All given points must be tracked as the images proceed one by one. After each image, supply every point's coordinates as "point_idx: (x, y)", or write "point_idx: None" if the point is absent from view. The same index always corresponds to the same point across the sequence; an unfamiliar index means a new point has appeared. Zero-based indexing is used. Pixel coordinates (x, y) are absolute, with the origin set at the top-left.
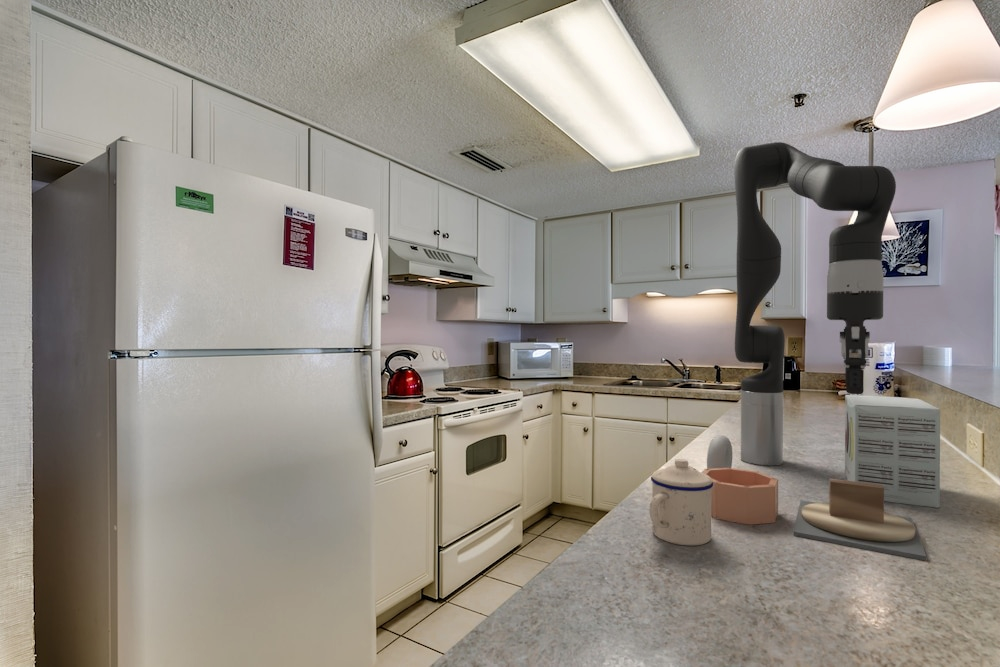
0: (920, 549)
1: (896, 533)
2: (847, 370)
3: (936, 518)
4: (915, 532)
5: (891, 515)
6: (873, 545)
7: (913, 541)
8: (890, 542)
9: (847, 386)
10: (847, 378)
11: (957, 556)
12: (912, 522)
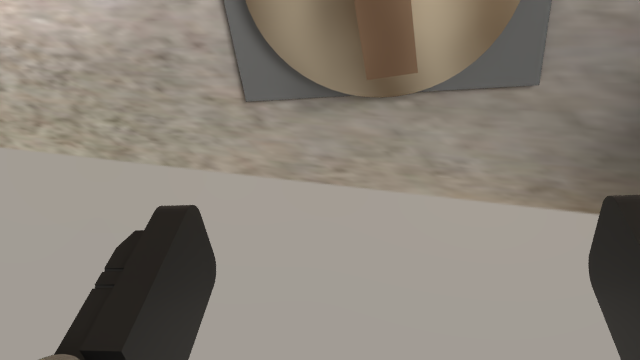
0: (283, 93)
1: (298, 62)
2: (85, 348)
3: (599, 130)
4: None
5: (470, 50)
6: (233, 10)
7: None
8: None
9: (144, 237)
10: (118, 286)
11: (320, 143)
12: (491, 86)
